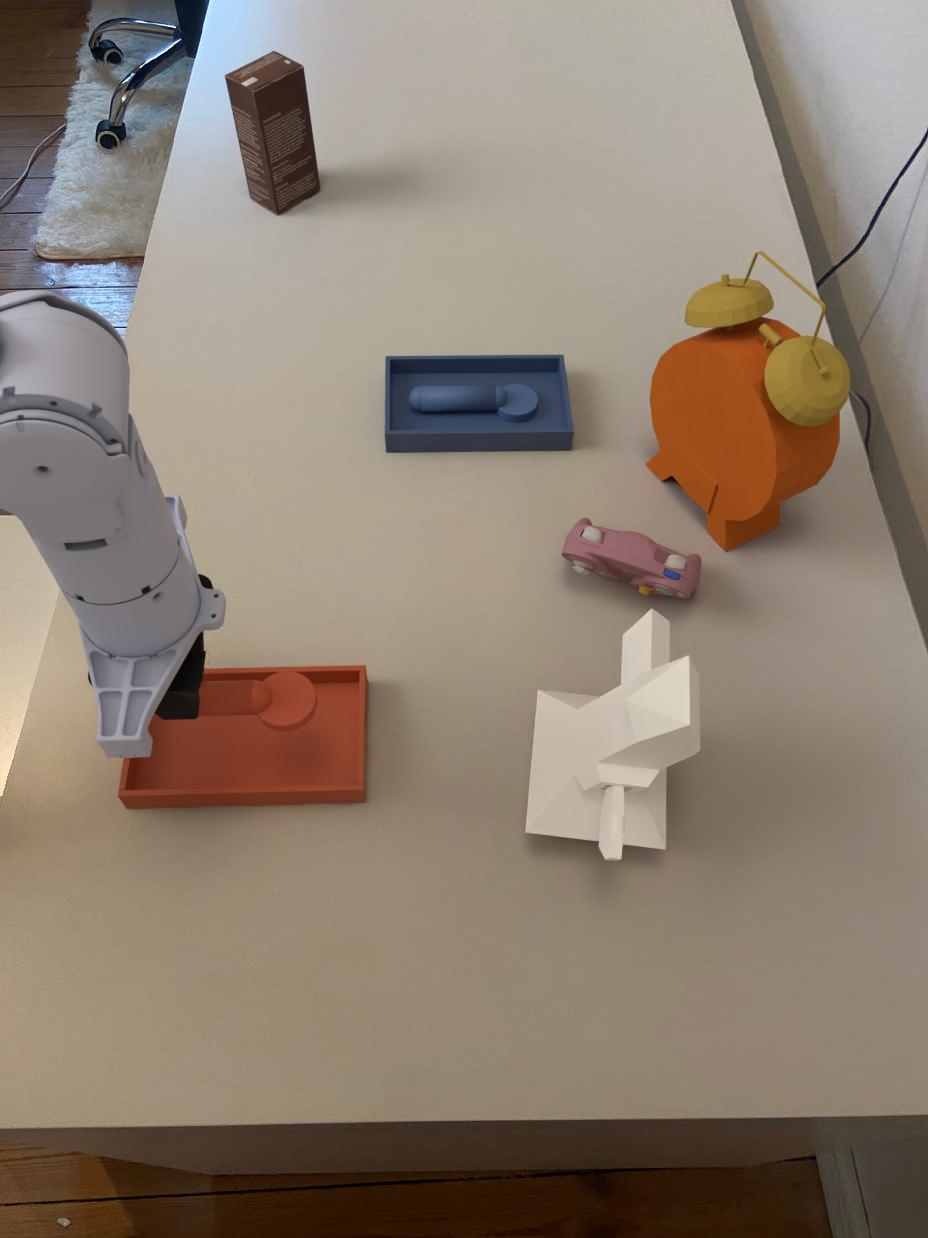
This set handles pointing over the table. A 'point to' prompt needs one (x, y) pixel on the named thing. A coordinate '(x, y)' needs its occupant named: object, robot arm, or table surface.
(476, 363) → the blue tray
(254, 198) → the box
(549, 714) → the white faceted sculpture
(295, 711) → the red spoon
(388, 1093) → the table surface
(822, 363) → the alarm clock
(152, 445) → the table surface
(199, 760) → the red tray
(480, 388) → the blue spoon
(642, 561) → the pink toy car
